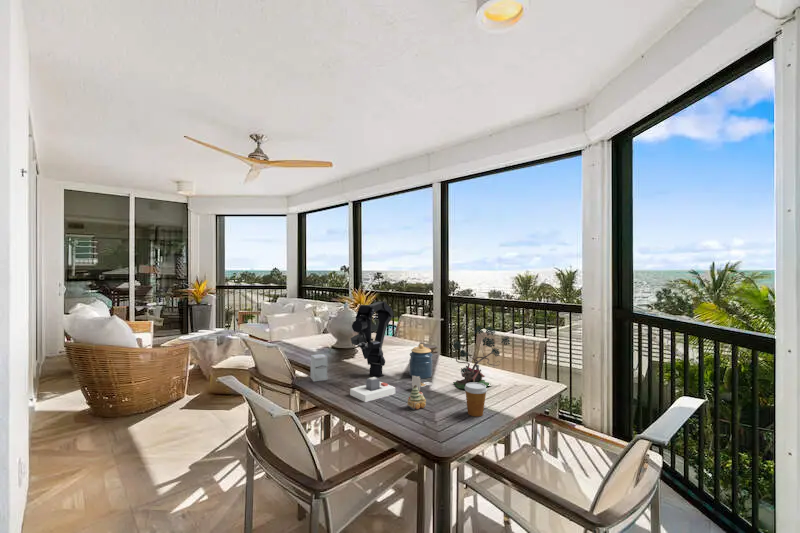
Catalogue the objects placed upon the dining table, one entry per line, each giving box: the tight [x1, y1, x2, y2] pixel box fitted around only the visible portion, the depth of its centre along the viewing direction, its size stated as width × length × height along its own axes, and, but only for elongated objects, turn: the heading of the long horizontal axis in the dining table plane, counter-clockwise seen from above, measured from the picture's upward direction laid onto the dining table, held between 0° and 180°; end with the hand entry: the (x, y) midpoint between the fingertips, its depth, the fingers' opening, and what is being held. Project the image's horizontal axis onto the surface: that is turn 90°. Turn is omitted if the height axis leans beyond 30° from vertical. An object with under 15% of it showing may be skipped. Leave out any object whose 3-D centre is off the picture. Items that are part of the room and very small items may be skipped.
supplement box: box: [310, 353, 329, 382], centre depth 209 cm, size 7×7×13 cm
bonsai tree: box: [452, 325, 511, 390], centre depth 201 cm, size 35×24×32 cm
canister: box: [408, 343, 434, 379], centre depth 219 cm, size 13×13×18 cm
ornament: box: [406, 385, 427, 410], centre depth 171 cm, size 8×6×10 cm
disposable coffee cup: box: [463, 382, 488, 417], centre depth 165 cm, size 10×10×12 cm
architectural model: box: [411, 375, 427, 392], centre depth 194 cm, size 3×7×7 cm, turn 42°
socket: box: [349, 381, 396, 403], centre depth 187 cm, size 18×12×4 cm, turn 132°
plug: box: [365, 376, 381, 391], centre depth 187 cm, size 5×4×7 cm
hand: (365, 358), depth 205 cm, fingers closed
